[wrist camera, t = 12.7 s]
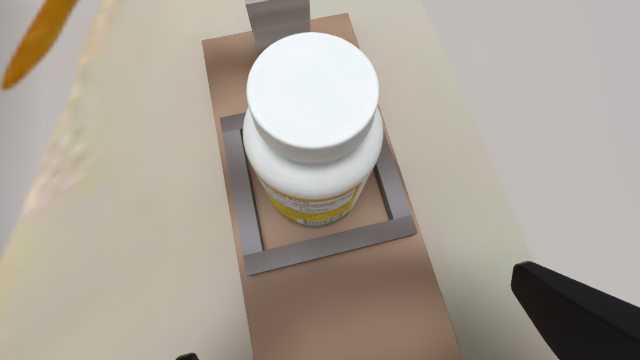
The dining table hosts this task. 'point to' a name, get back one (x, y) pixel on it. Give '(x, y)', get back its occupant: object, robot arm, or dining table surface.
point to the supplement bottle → (312, 126)
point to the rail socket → (322, 233)
